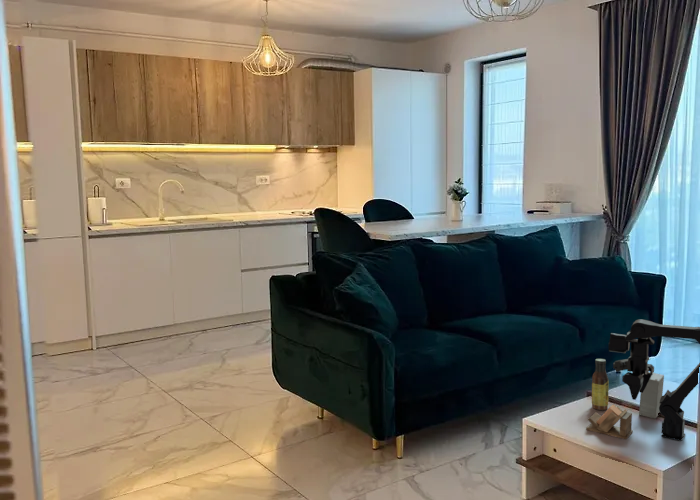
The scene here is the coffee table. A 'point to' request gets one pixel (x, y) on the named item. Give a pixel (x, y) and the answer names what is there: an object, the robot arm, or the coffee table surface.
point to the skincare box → (652, 396)
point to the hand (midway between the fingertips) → (637, 395)
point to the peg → (610, 409)
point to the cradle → (612, 424)
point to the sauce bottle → (600, 386)
